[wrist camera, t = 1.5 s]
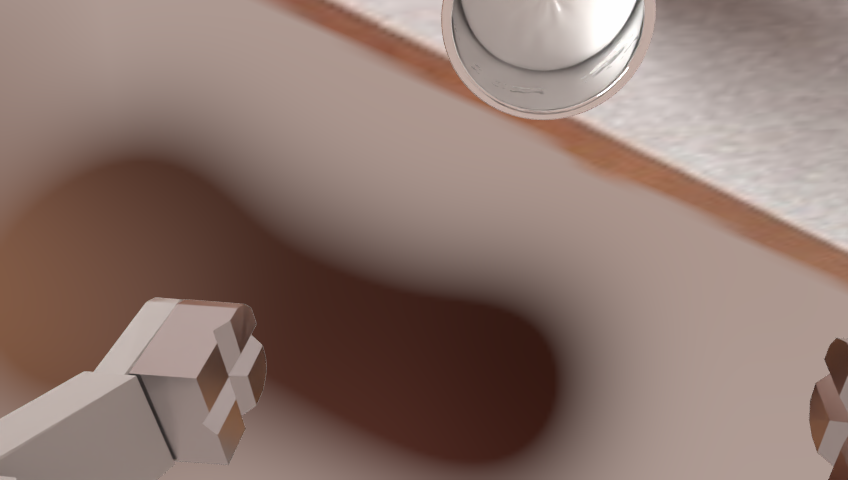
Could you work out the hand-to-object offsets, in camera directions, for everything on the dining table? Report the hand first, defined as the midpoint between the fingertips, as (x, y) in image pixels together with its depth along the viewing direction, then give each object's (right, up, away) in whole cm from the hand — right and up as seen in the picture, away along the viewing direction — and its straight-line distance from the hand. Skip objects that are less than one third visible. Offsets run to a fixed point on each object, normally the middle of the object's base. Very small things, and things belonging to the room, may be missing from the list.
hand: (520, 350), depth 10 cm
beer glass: (+5, +17, +23) cm, 30 cm away
